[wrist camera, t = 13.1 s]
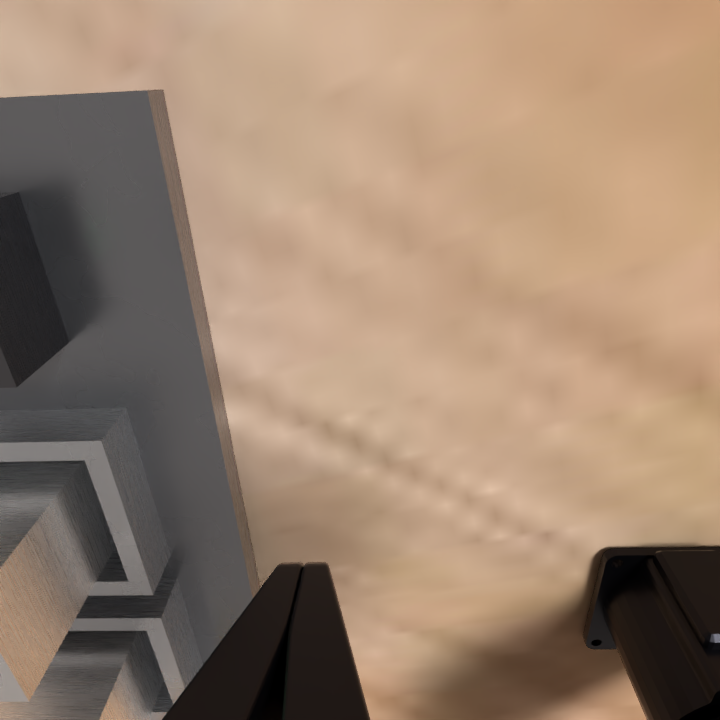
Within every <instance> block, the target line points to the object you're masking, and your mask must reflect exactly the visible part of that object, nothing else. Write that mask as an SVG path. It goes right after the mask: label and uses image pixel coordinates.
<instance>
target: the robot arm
mask: <svg viewBox="0 0 720 720" xmlns="http://www.w3.org/2000/svg"><path fill="white" fill-rule="evenodd" d="M583 638H584V641H585V643H586V646H587V647H588V648H591V649H617V650H618V653H619V655H620V657H621V660H622V662H623V665H624V667H625V669H626V672H627V674H628V676H629V679H630V681H631V683H632V686H633V688H634V691H635V693H636V695H637V698H638V700H639V702H640V705H641V707H642V709H643V712H644V714H645V717H646V719H647V720H720V547H693V548H614V549H610V550H607V551H606V552H605V553H604V554H603V556H602V559H601V563H600V567H599V572H598V576H597V580H596V584H595V588H594V592H593V597H592V601H591V605H590V609H589V613H588V617H587V621H586V626H585V630H584V634H583ZM162 720H370V717H369V713H368V710H367V706H366V702H365V698H364V695H363V691H362V687H361V683H360V680H359V676H358V672H357V669H356V665H355V661H354V657H353V654H352V650H351V646H350V642H349V639H348V635H347V631H346V628H345V624H344V620H343V616H342V613H341V609H340V605H339V601H338V598H337V594H336V590H335V587H334V583H333V579H332V575H331V572H330V568H329V565H328V564H327V563H326V562H308V563H306V564H305V565H303V564H302V563H281V564H279V565H278V566H277V567H276V568H275V570H274V571H273V572H272V574H271V575H270V576H269V578H268V579H267V580H266V582H265V583H264V584H263V586H262V587H261V588H260V590H259V591H258V592H257V594H256V595H255V596H254V598H253V599H252V600H251V602H250V603H249V604H248V606H247V607H246V608H245V610H244V611H243V612H242V613H241V615H240V616H239V617H238V619H237V620H236V621H235V623H234V624H233V625H232V627H231V628H230V629H229V631H228V632H227V633H226V635H225V636H224V637H223V639H222V640H221V641H220V643H219V644H218V645H217V647H216V648H215V649H214V651H213V652H212V653H211V655H210V656H209V657H208V659H207V660H206V661H205V663H204V664H203V665H202V667H201V668H200V669H199V671H198V672H197V673H196V675H195V676H194V677H193V679H192V680H191V681H190V683H189V684H188V685H187V687H186V688H185V689H184V691H183V692H182V693H181V695H180V696H179V697H178V699H177V700H176V701H175V703H174V704H173V705H172V707H171V708H170V709H169V711H168V712H167V713H166V715H165V716H164V717H163V719H162Z"/></svg>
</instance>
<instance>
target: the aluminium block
mask: <svg viewBox="0 0 720 720" xmlns="http://www.w3.org/2000/svg"><path fill="white" fill-rule="evenodd" d="M115 547H116V546H115V543H114V540H113V537H112V534H111V532H110V529H109V526H108V523H107V521H106V518H105V515H104V512H103V510H102V507H101V504H100V501H99V499H98V496H97V493H96V490H95V488H94V485H93V482H92V479H91V477H90V474H89V471H88V468H87V466H86V463H85V460H79V461H25V462H0V702H29V701H30V699H31V697H32V695H33V694H34V692H35V690H36V688H37V686H38V685H39V683H40V681H41V679H42V677H43V676H44V674H45V672H46V670H47V669H48V667H49V665H50V663H51V661H52V660H53V658H54V656H55V654H56V652H57V651H58V649H59V647H60V645H61V643H62V642H63V640H64V638H65V636H66V634H67V633H68V631H69V629H70V627H71V626H72V624H73V622H74V620H75V618H76V617H77V615H78V613H79V611H80V609H81V608H82V606H83V604H84V602H85V600H86V599H87V597H88V595H89V593H90V591H91V590H92V588H93V586H94V584H95V583H96V581H97V579H98V577H99V575H100V574H101V572H102V570H103V568H104V566H105V565H106V563H107V561H108V559H109V557H110V556H111V554H112V552H113V550H114V548H115Z"/></svg>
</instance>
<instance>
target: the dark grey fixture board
mask: <svg viewBox="0 0 720 720" xmlns="http://www.w3.org/2000/svg"><path fill="white" fill-rule="evenodd" d="M79 460H85V463H86V466H87V468H88V471H89V474H90V477H91V479H92V482H93V485H94V488H95V490H96V493H97V496H98V499H99V501H100V504H101V507H102V510H103V512H104V515H105V518H106V521H107V523H108V526H109V529H110V532H111V534H112V537H113V540H114V543H115V546H116V547H115V548H114V550H113V552H112V554H111V556H110V557H109V559H108V561H107V563H106V565H105V566H104V568H103V570H102V572H101V574H100V575H99V577H98V579H97V581H96V583H95V584H94V586H93V588H92V590H91V591H90V593H89V595H88V597H87V599H86V600H85V602H84V604H83V606H82V608H81V609H80V611H79V613H78V615H77V617H76V618H75V620H74V622H73V624H72V626H71V627H70V629H69V631H147V634H148V636H149V639H150V642H151V645H152V647H153V650H154V653H155V656H156V659H157V661H158V664H159V667H160V670H161V672H162V675H163V678H164V680H163V683H162V686H161V689H160V691H159V694H158V697H157V700H156V703H155V706H154V708H153V711H152V714H151V717H150V720H162V719H163V717H164V716H165V715H166V713H167V712H168V711H169V709H170V708H171V707H172V705H173V704H174V703H175V701H176V700H177V699H178V697H179V696H180V695H181V693H182V692H183V691H184V689H185V688H186V687H187V685H188V684H189V683H190V681H191V680H192V679H193V677H194V676H195V675H196V673H197V672H198V671H199V669H200V668H201V667H202V665H203V664H204V663H205V661H206V660H207V659H208V657H209V656H210V655H211V653H212V652H213V651H214V649H215V648H216V647H217V645H218V644H219V643H220V641H221V640H222V639H223V637H224V636H225V635H226V633H227V632H228V631H229V629H230V628H231V627H232V625H233V624H234V623H235V621H236V620H237V619H238V617H239V616H240V615H241V613H242V612H243V611H244V610H245V608H246V607H247V606H248V604H249V603H250V602H251V600H252V599H253V598H254V596H255V595H256V594H257V592H258V591H259V590H260V585H259V580H258V575H257V570H256V565H255V559H254V554H253V549H252V544H251V539H250V534H249V529H248V523H247V518H246V513H245V508H244V503H243V498H242V493H241V488H240V482H239V477H238V472H237V467H236V462H235V457H234V452H233V446H232V441H231V436H230V431H229V426H228V421H227V416H226V411H225V405H224V400H223V395H222V390H221V385H220V380H219V375H218V369H217V364H216V359H215V354H214V349H213V344H212V339H211V334H210V328H209V323H208V318H207V313H206V308H205V303H204V298H203V292H202V287H201V282H200V277H199V272H198V267H197V262H196V257H195V251H194V246H193V241H192V236H191V231H190V226H189V221H188V215H187V210H186V205H185V200H184V195H183V190H182V185H181V180H180V174H179V169H178V164H177V159H176V154H175V149H174V144H173V138H172V133H171V128H170V123H169V118H168V113H167V108H166V103H165V97H164V92H163V90H148V91H128V92H108V93H88V94H68V95H48V96H28V97H8V98H0V462H25V461H79Z"/></svg>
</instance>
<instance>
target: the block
mask: <svg viewBox="0 0 720 720" xmlns="http://www.w3.org/2000/svg"><path fill="white" fill-rule="evenodd" d="M163 680H164V678H163V675H162V672H161V670H160V667H159V664H158V661H157V659H156V656H155V653H154V650H153V647H152V645H151V642H150V639H149V636H148V634H147V631H68V633H67V634H66V636H65V638H64V640H63V642H62V643H61V645H60V647H59V649H58V651H57V652H56V654H55V656H54V658H53V660H52V661H51V663H50V665H49V667H48V669H47V670H46V672H45V674H44V676H43V677H42V679H41V681H40V683H39V685H38V686H37V688H36V690H35V692H34V694H33V695H32V697H31V699H30V701H29V702H0V720H150V717H151V714H152V711H153V708H154V706H155V703H156V700H157V697H158V694H159V691H160V689H161V686H162V683H163Z"/></svg>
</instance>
